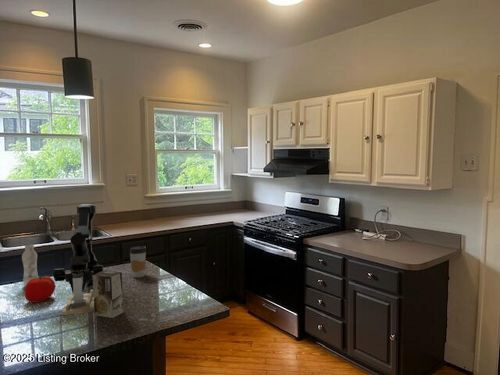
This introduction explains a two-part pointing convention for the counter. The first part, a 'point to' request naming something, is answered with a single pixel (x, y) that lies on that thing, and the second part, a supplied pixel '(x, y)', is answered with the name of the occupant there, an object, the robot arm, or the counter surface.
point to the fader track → (79, 309)
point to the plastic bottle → (29, 263)
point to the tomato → (39, 289)
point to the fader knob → (78, 290)
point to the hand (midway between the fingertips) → (77, 291)
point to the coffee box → (108, 294)
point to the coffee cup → (138, 261)
